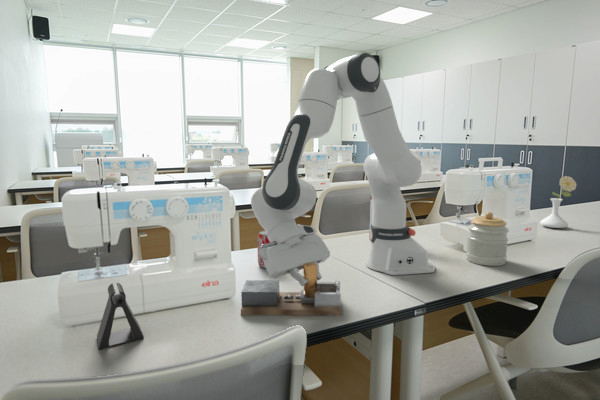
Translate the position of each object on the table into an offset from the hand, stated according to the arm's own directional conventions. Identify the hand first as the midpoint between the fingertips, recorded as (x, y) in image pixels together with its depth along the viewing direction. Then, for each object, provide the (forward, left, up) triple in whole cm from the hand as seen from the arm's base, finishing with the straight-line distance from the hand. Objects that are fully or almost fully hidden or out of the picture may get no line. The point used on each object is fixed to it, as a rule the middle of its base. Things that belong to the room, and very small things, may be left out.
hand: (312, 281), depth 101 cm
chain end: (+6, 0, -5) cm, 8 cm away
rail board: (+5, 0, -7) cm, 9 cm away
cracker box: (-31, -62, -7) cm, 70 cm away
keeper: (-4, 0, -5) cm, 7 cm away
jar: (-62, -38, -7) cm, 73 cm away
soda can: (+15, -32, -7) cm, 36 cm away
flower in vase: (-118, -89, -7) cm, 148 cm away
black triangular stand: (+43, +17, -7) cm, 47 cm away
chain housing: (+13, 0, -5) cm, 14 cm away
